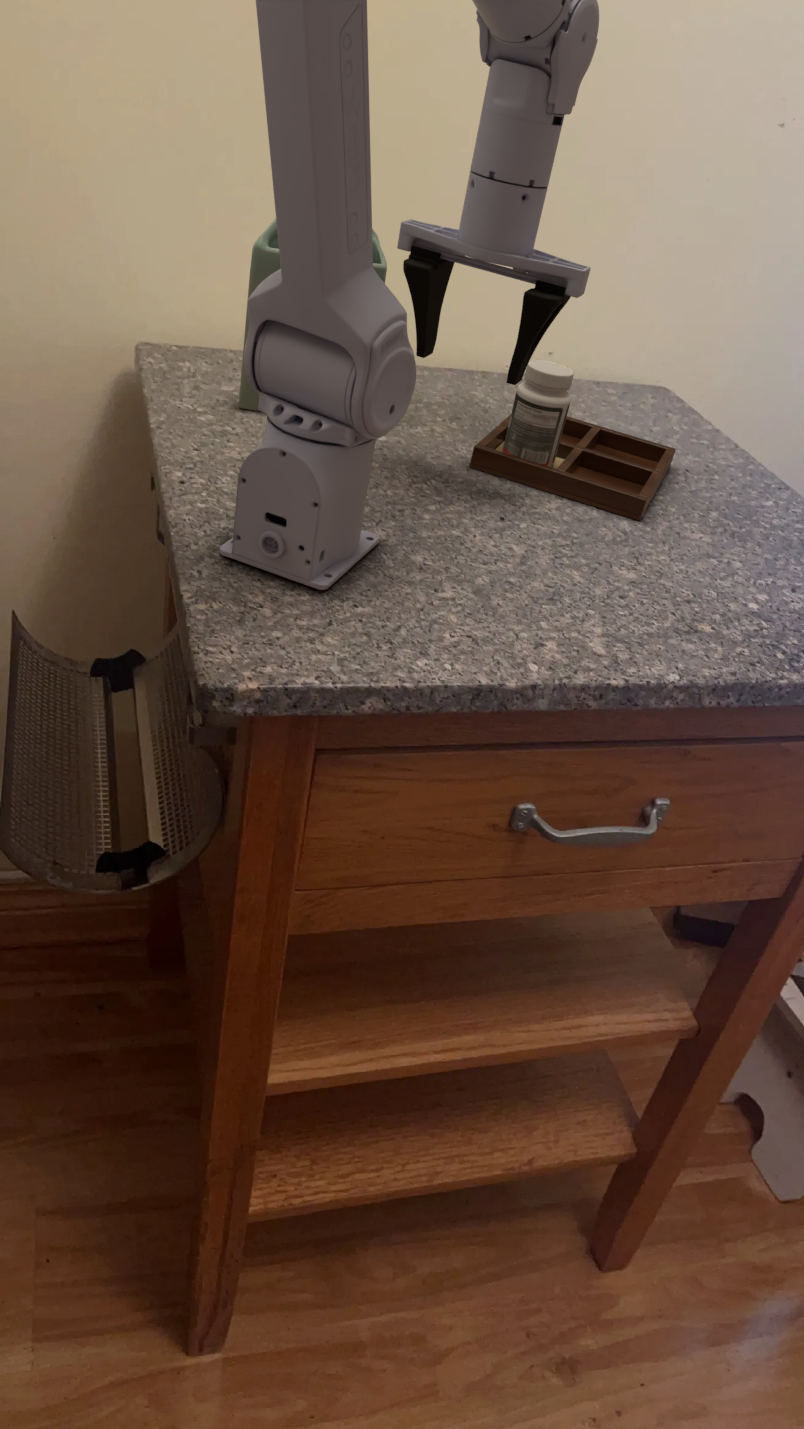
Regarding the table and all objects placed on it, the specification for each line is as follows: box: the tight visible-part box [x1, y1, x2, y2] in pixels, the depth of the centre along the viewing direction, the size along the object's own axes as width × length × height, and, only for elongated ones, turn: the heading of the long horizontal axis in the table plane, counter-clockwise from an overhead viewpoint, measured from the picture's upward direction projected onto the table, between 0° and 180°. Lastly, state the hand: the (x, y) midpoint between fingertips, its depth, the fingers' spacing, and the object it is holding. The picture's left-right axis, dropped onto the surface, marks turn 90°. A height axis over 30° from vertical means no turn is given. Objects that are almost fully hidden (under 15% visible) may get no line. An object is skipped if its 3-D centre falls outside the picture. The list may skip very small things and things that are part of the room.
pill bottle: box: [502, 359, 575, 467], centre depth 90 cm, size 5×5×8 cm
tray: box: [469, 414, 677, 522], centre depth 94 cm, size 15×15×2 cm
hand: (468, 368), depth 82 cm, fingers open, 7 cm apart
